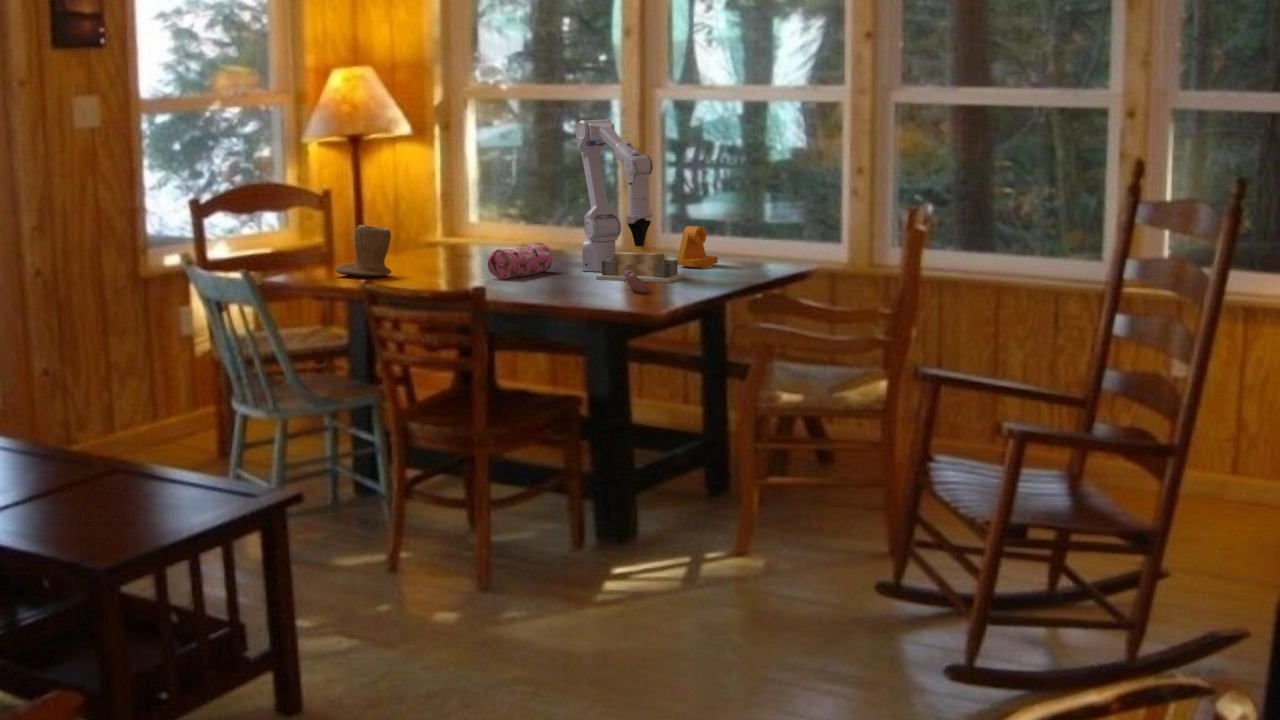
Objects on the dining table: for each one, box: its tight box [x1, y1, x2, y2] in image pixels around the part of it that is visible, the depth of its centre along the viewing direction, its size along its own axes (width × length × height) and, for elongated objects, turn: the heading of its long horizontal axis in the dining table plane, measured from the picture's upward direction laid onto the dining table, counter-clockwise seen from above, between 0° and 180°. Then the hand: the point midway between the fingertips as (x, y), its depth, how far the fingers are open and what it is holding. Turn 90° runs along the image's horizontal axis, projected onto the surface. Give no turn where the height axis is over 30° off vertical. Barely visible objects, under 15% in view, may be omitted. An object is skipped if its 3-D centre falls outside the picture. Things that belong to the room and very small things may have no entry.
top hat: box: [334, 224, 392, 278], centre depth 503 cm, size 15×12×15 cm
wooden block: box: [614, 251, 665, 276], centre depth 492 cm, size 14×4×6 cm, turn 69°
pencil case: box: [487, 242, 553, 280], centre depth 501 cm, size 21×9×9 cm, turn 147°
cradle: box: [595, 258, 684, 283], centre depth 493 cm, size 22×12×5 cm, turn 69°
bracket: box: [676, 225, 719, 269], centre depth 515 cm, size 11×7×12 cm, turn 138°
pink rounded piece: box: [623, 270, 648, 294], centre depth 469 cm, size 10×5×7 cm, turn 5°
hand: (639, 246), depth 491 cm, fingers closed
